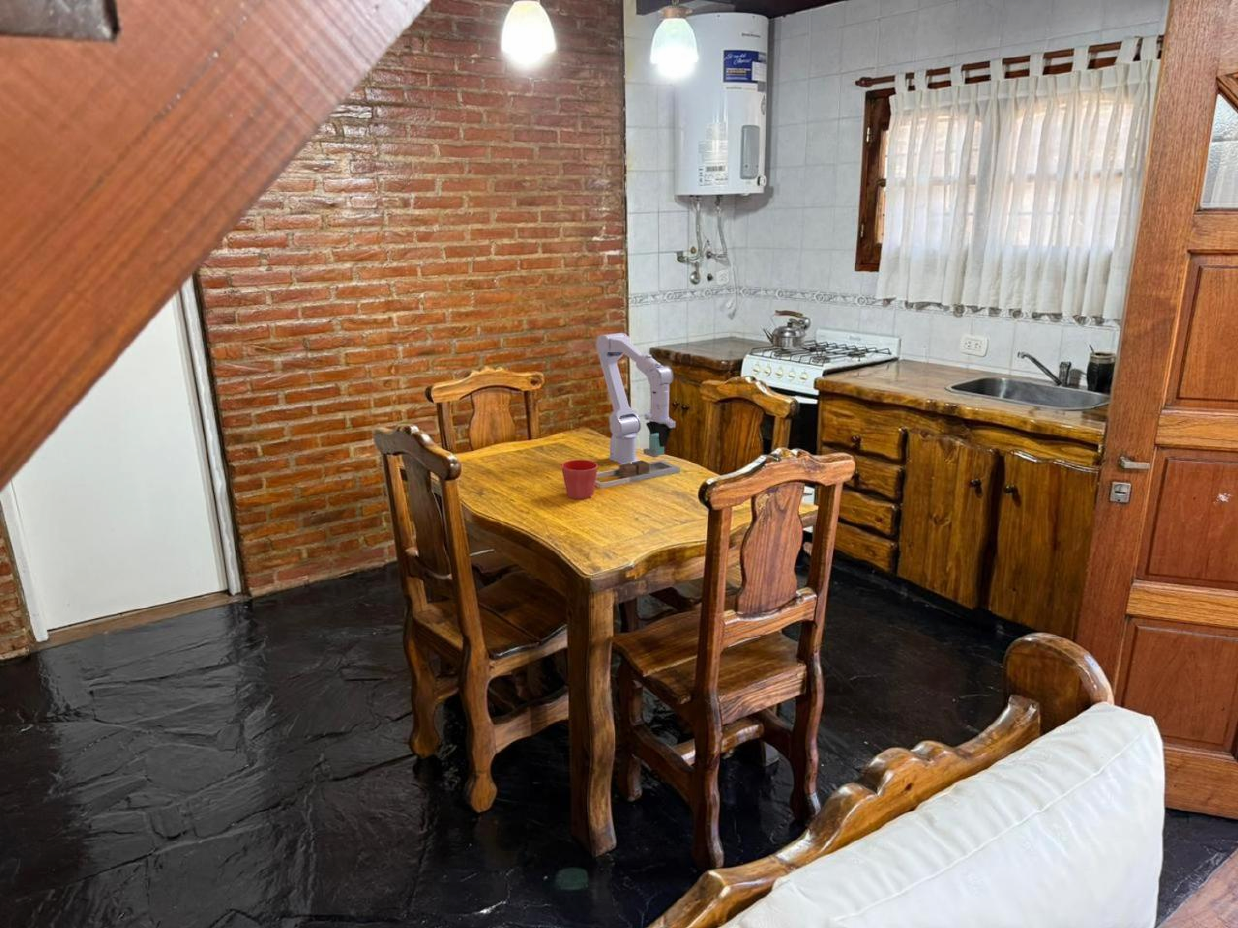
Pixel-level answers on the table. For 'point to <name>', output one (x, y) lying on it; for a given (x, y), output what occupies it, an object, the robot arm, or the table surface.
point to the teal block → (654, 446)
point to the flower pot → (579, 478)
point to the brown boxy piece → (626, 470)
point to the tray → (610, 483)
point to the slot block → (653, 471)
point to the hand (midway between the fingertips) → (659, 444)
